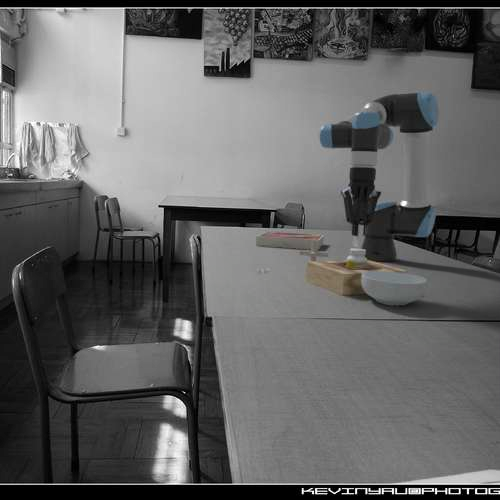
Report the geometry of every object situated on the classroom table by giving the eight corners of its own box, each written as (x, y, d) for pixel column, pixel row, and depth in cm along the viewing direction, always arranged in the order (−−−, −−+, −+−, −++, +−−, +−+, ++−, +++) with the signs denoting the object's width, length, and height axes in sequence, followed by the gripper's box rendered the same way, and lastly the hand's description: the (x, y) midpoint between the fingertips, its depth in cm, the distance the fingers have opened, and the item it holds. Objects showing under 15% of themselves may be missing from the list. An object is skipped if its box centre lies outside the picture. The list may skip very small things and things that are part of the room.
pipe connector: (326, 271, 178) (328, 242, 177) (297, 268, 180) (299, 240, 179) (327, 266, 188) (329, 239, 186) (300, 264, 190) (302, 237, 188)
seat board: (365, 277, 169) (366, 259, 168) (405, 291, 151) (407, 270, 150) (306, 280, 160) (307, 261, 159) (342, 295, 142) (343, 273, 141)
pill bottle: (342, 283, 159) (345, 247, 157) (362, 283, 159) (365, 248, 157) (347, 287, 152) (350, 250, 151) (367, 288, 153) (371, 251, 151)
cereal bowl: (415, 314, 125) (417, 285, 124) (350, 303, 134) (352, 276, 133) (431, 301, 140) (434, 275, 139) (372, 292, 148) (373, 267, 147)
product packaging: (266, 241, 256) (266, 231, 255) (323, 245, 249) (323, 235, 248) (256, 246, 235) (256, 236, 234) (317, 251, 228) (318, 240, 227)
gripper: (373, 167, 157) (367, 244, 160) (337, 165, 151) (332, 245, 155) (389, 167, 150) (383, 248, 153) (351, 165, 145) (346, 249, 148)
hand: (357, 246), depth 154 cm, fingers closed
